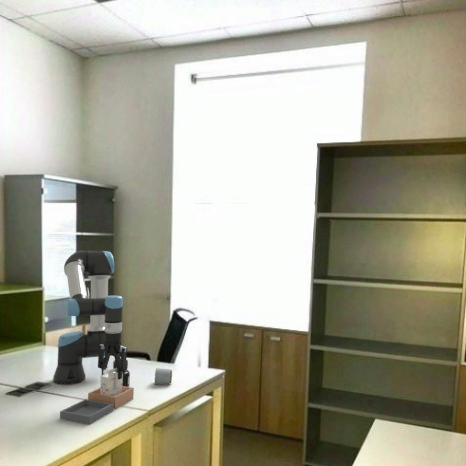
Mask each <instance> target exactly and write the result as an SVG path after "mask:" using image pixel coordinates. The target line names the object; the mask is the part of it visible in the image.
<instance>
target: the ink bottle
mask: <svg viewBox="0 0 466 466" xmlns="http://www.w3.org/2000/svg"><path fill="white" fill-rule="evenodd" d="M126 364H127V369H126V370H124V371H122V373H123V383H122V386H125V387H130V379H131V377H130V375H131V372H130V371H129V370H128V368H129V367H128V364H129V361H128V359H126ZM114 368H117V367H116V362H115V360H113V362H112V369H114ZM113 372H116V370H115V371H113Z"/></svg>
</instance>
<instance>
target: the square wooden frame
mask: <svg viewBox="0 0 466 466" xmlns="http://www.w3.org/2000/svg"><path fill="white" fill-rule="evenodd" d="M100 388H101V386H100V387H98V388H95V389H94V390H92V391H89V392H88V395H87V396H88V397H87V400H93V401H99V402H105V403H111V404H114V406H113V410H117V409H119V408H120V407H123V406H124V405H126V404H127V403H129V402H131V401H132V400H134V395H135V394H134V393H135V392H134V390H135V389H134V387H131V386H128V387H125V386H122V393H121V394H119V395H117V396H109V395H102V394H100Z"/></svg>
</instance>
